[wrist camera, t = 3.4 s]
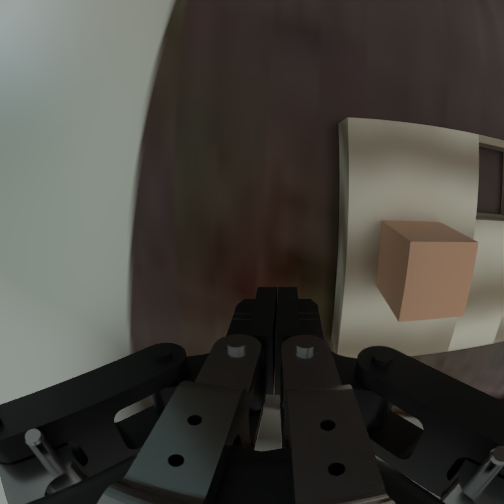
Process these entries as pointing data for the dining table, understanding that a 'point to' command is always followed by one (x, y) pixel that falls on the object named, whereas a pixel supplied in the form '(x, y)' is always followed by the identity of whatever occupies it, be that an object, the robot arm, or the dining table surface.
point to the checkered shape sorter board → (412, 209)
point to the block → (424, 269)
